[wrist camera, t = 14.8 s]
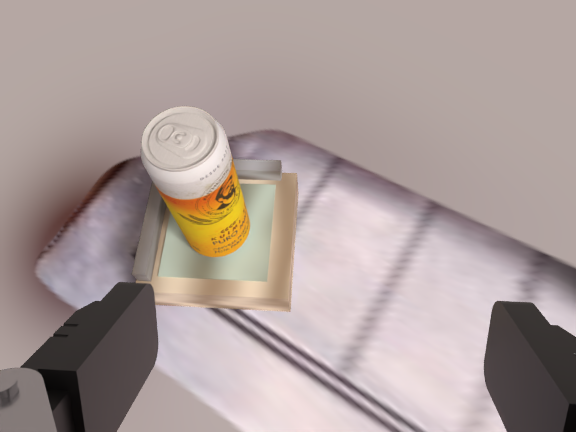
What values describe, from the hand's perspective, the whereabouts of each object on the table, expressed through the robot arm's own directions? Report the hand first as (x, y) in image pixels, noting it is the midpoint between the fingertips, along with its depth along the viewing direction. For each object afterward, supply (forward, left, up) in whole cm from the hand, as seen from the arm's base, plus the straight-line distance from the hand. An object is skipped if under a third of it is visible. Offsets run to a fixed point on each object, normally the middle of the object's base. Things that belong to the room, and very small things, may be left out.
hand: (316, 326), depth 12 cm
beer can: (+10, -16, -31) cm, 36 cm away
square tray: (+10, -17, -35) cm, 40 cm away
